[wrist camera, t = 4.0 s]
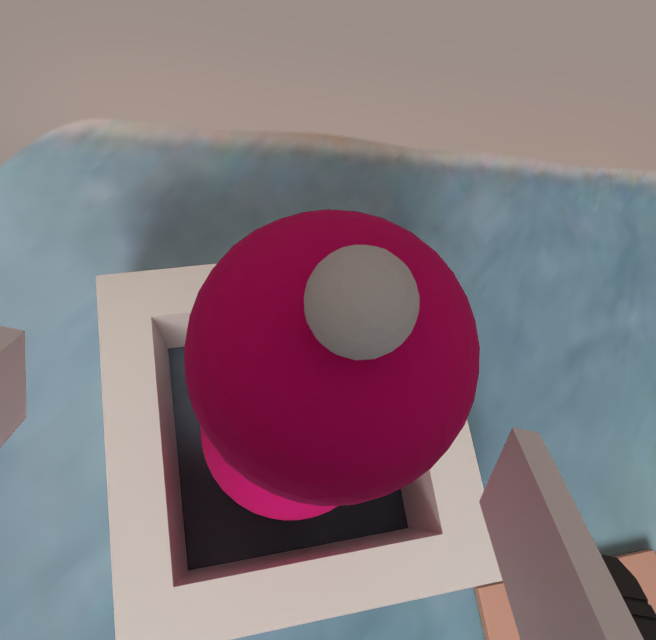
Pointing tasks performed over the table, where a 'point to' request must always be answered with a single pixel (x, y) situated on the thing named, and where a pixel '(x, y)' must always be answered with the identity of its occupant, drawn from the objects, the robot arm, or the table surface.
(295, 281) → the pepper mill
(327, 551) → the holder collar
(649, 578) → the rubber mat
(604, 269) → the table surface
